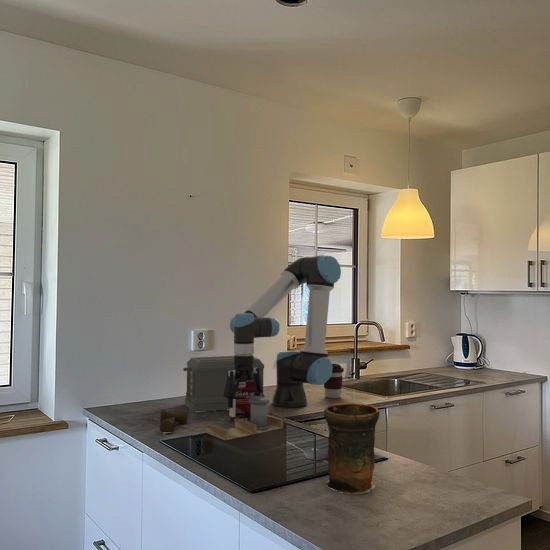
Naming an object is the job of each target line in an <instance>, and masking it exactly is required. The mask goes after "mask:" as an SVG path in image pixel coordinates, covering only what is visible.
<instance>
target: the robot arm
mask: <svg viewBox="0 0 550 550" xmlns="http://www.w3.org/2000/svg"><path fill="white" fill-rule="evenodd" d="M341 269H342V268H341V265H340V263H339V262H338V260H337V259H336V258H335V257H334V256H332V255H327V254H326V255H325V254H321V255H311V256H310V255H306V256H305V255H304V256H302V257H299V258H298V259H296V260H294V261H293V262H292V263H290V264H289V265H288V266H287V267H285V269H283V271H281V273H280V276H279V278H278V279H277V280H276V281H275V282H274V283H272V285H271V286H270V287H269V288H268V289H267V290H266V291H264V293H262V294H261V296H260V297H258V299H256V301H255V302H253V303H252V304H251V306H250V307H248V308H247V309H246V310H245V311H244V312H243V313H236V314H235V315H234V316H233V317H232V318H231V320H230V321H229V328H230V331H231V332H232V333H233V354H234V355H233V356H234V366H235V367H234V370H232V371H229V370H228V371H227V381H226V385H225V390H224V395H223V397H225V398H228V407H229V410H228V412H229V417H230V418H231V417H235V400H236V399H234V396H235V394H236V391H237V389H238V386H239V382H241V381H242V380H244V379H246V380H253V376H254V380H255V381H256V397H258V396H260V393H262V392H263V393H264V389H263V390H262V385H261V380H260V375H259V373H260V369H259V368H255V367H254V368H253V364H254V357H255V356H254V355H253V354H254V353H255V339H256V338H259V339H260V338H272V337H276V336H277V335H278V334H279V332H280V322H279V321H278V319H277V318H275V317H267V316H268V315H269V314H270V313H271V312H272V311H273V310H274V309H275V308H276V307H277V306H278V305H279V304H280V303H281V302H282V301H283V300H284V299H285V298H286V297H287V296H288V295H289V294H290V293H291V292H292V291H293V290H297V289H298V288H299V287H300V286H301V285H303V284H306V287H307V289H308V290H309V292H308V293H309V294H308V304H307V305H308V306H307V315H306V326H305V336H304V345H303V347H302V348H301V349H300V350H297V349H296V350H287V351H285V350H284V351H279V352H277V354H276V362H275V363H276V364H275V365H276V367H275V368H276V386H275V390H274V394H273V397H272V402H271V403H272V405H274V406H275V407H276V406H277V407H282V408H300V407H305V406H307V405H308V398H307V394H306V391H305V388H304V384H309V385H313V386H314V385H315V386H321V385H324V383H326V382H327V380H329V378H330V376H331V374H332V369H333V367H332V364H333V363H332V361H331V359H329V358H328V357H329V356H328V355H329V354H328V351H327V350H326V337H327V325H328V318H329V317H328V315H329V305H330V292H331V291H333V289H334V288H335V284H336V283H337V282H338V281H339V280H340V278H341V276H342V270H341ZM252 372H253V376H252ZM234 375H235V377H234ZM233 379H234V381H236V382H237V383H236V384H235V386H234V385H233Z"/></svg>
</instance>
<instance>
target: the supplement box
mask: <svg viewBox="0 0 550 550" xmlns="http://www.w3.org/2000/svg"><path fill="white" fill-rule="evenodd" d="M236 383H237V382H236V381H234V380H233V385H234V386H235V384H236ZM250 398H256V381H255V380H242V381H241V382H239V386H238V389H237V391H236V394H235V396H234V399H236V400H235V417H231V416H230V420H231V422H232V423H235V419H240V420H243V421H246V422H250V419H251V403H250V402H249V399H250Z"/></svg>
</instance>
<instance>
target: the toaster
mask: <svg viewBox="0 0 550 550" xmlns="http://www.w3.org/2000/svg"><path fill="white" fill-rule="evenodd" d="M234 367H235V366H234V355H226V356H224V355H223V356H221V355H220V356H200V357H199V356H198V357H193V356H192V357H190V359H189V360H188V361H187V362H186V367H183V371H184V372H186V391H185V398H184V405H186V406H187V407H188V408H189V409H190V410H191V411H214V412H216V411H215V410H227V409H229V407H228V398H225V397H223V395H224V390H225V385H226V381H227V371H228V370H229V371H232V370H234ZM254 367H255V368H259V369H260V373H259V375H260V380H261V385H262V390H263V392H262V393H260V396H258V397H262V398H266V397H265V394H264V369H265V364H264V363H263V362H262V361H261V359H260V358H258V357H255V356H254V364H253V368H254ZM252 376H253V372H252ZM234 377H235V375H234ZM233 380H234V379H233ZM244 380H246V379H244ZM253 380H254V376H253ZM186 406H185V407H186ZM187 407H186V408H187ZM188 408H187V409H188ZM189 409H188V410H189ZM190 410H189V411H190ZM191 411H190V412H191Z"/></svg>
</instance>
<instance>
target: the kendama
mask: <svg viewBox="0 0 550 550" xmlns="http://www.w3.org/2000/svg"><path fill="white" fill-rule="evenodd" d="M188 413H189V412H188V410H186V409H185V410H182V411H179V412H171V411H169V410H168V409H166V408H162V410H161V411H160V418H159V420H160V421H159V423H160V424H159V431H160V432H161V433H162V432H172V433H174V431H175V427H176V425H177V424H176V423H178V424H180V425H182V424H183V425H182V426H186V425H187V424H188V419H189V414H188ZM185 424H186V425H185Z"/></svg>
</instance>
